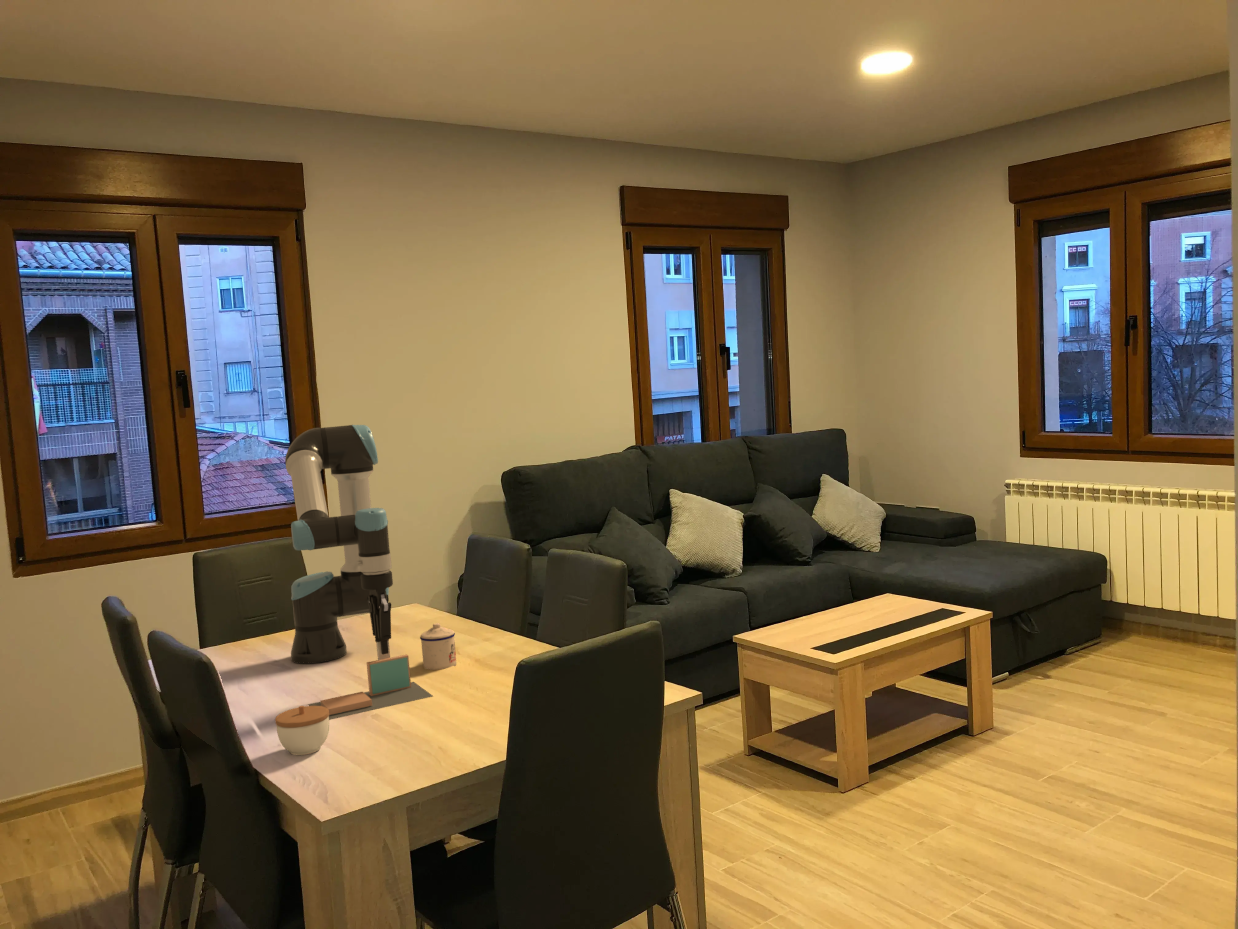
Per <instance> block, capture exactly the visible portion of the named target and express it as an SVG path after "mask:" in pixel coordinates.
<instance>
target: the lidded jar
mask: <svg viewBox="0 0 1238 929" xmlns="http://www.w3.org/2000/svg"><path fill="white" fill-rule="evenodd" d="M274 720H275V721H274V722H275V725H276V731H277V732H276V733H277V737H278V740H279V742H280V744H281V746H282V747H283V748H284V749H285V750H287V751H288V752H289V753H290V754H291V755H293V756H306V755H311V754H313V753H316V752H318V751H320V750H321V749H322V746H323V745H324V743H325V742H326V740H327V738H328V736H329V733H330V732H329V731H330V720H329V710H328V709H327V708H326V707H322V706H309V705H306V706H305V705H299V706H298V707H294V708H290V709H288V710H285V711H282V712H281V713H278V714H277V716H276V717H275V719H274Z"/></svg>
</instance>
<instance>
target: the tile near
mask: <svg viewBox="0 0 1238 929" xmlns="http://www.w3.org/2000/svg"><path fill="white" fill-rule="evenodd" d="M364 692H365V691H359V692H353V693H349V694H345V695H341V696H340V695H339V696H336V697H330V698H325V699H321V700H320V701H319V702H320V703H321V706H322V707H326V708H327V709H328V710H329V715H334V714H338V713H343V712H347V711H351V710H356V709H360V708H365V707H369V706H372V700H371V699H370V698H369V697H368V696H367V695H366V694H365V693H364Z"/></svg>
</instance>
